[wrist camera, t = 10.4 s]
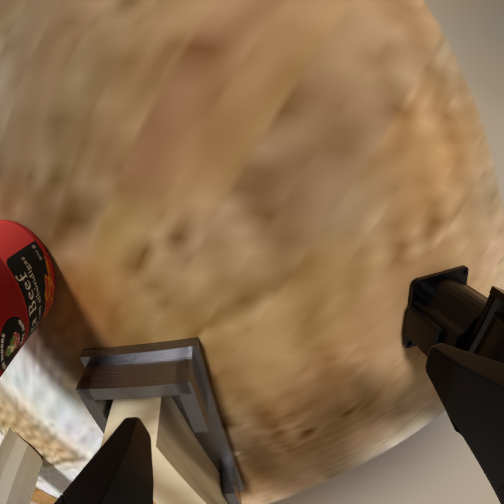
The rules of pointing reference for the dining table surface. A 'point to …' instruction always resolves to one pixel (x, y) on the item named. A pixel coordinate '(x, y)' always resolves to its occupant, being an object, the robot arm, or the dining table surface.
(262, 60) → the dining table surface
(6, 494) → the paper towel roll
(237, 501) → the bracket
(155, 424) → the beige rectangular block
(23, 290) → the canned food
